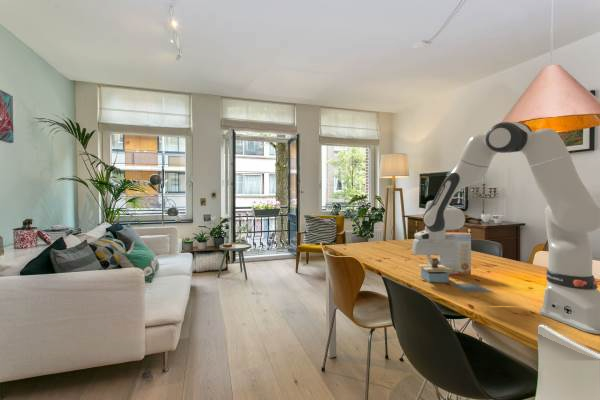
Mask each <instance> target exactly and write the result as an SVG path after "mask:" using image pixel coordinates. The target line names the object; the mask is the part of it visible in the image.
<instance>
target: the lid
mask: <svg viewBox="0 0 600 400" xmlns="http://www.w3.org/2000/svg"><path fill="white" fill-rule="evenodd" d="M431 260H432V261H433V265H429V264H418V265H417V266H418V267H419V268H420V269H424V270H426V271H427V272H452V270H451V269H449V268H447V267H445V266H443V265H438V257H431Z"/></svg>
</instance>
